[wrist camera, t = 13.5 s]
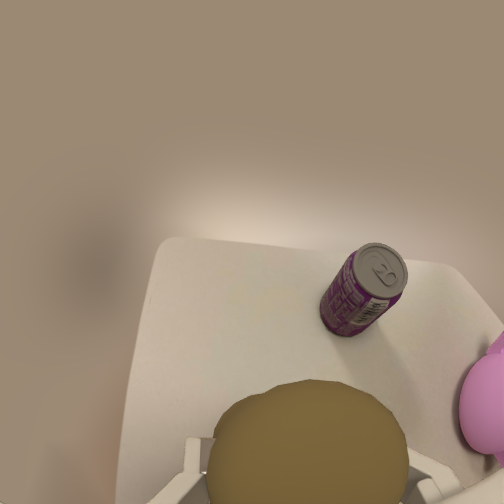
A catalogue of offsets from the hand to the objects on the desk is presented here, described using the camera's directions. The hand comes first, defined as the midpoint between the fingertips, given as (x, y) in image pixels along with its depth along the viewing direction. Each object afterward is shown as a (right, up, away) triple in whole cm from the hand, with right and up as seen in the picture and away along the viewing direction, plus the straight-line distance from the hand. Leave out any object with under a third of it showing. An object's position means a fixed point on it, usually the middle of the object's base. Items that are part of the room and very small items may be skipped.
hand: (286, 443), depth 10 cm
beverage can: (+11, -1, +31) cm, 33 cm away
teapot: (+34, -16, +23) cm, 44 cm away
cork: (0, -4, +5) cm, 6 cm away
